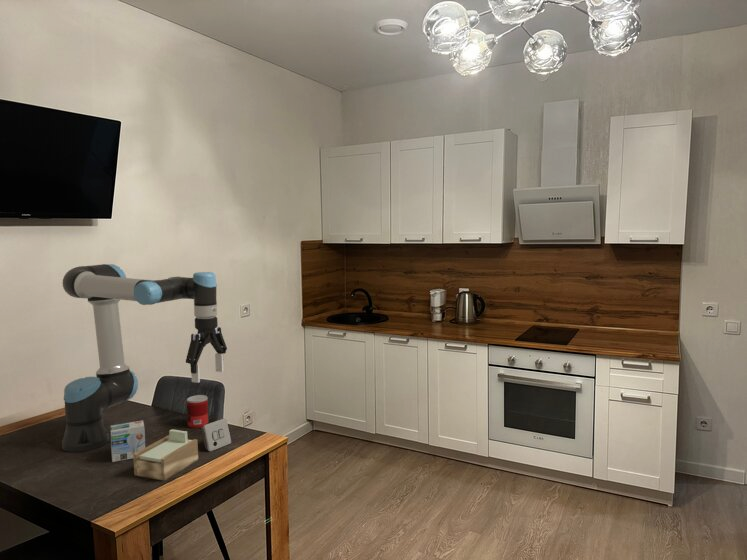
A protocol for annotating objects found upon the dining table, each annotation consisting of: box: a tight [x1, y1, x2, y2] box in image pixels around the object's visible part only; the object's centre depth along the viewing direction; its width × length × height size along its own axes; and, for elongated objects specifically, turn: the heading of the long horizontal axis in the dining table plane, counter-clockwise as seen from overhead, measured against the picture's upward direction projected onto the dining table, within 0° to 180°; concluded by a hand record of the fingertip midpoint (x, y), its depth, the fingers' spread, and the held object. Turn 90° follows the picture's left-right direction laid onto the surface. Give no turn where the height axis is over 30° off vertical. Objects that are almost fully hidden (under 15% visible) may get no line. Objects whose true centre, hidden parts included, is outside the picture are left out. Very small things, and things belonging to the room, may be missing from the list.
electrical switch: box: [200, 418, 232, 452], centre depth 189 cm, size 9×5×9 cm, turn 141°
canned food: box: [186, 394, 210, 429], centre depth 209 cm, size 8×8×11 cm
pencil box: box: [132, 434, 199, 482], centre depth 172 cm, size 12×16×7 cm
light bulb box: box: [110, 420, 146, 463], centre depth 181 cm, size 11×7×11 cm, turn 117°
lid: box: [139, 429, 189, 462], centre depth 171 cm, size 8×14×4 cm, turn 160°
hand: (208, 376), depth 184 cm, fingers open, 13 cm apart
